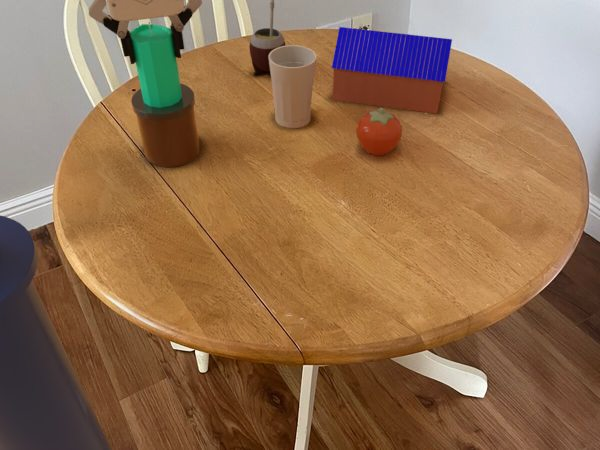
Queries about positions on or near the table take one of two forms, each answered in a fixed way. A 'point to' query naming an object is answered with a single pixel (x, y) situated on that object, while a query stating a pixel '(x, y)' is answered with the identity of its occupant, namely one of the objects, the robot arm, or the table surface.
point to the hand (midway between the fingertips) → (155, 55)
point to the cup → (292, 84)
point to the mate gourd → (264, 46)
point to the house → (390, 69)
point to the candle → (156, 65)
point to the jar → (168, 130)
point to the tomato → (379, 132)
